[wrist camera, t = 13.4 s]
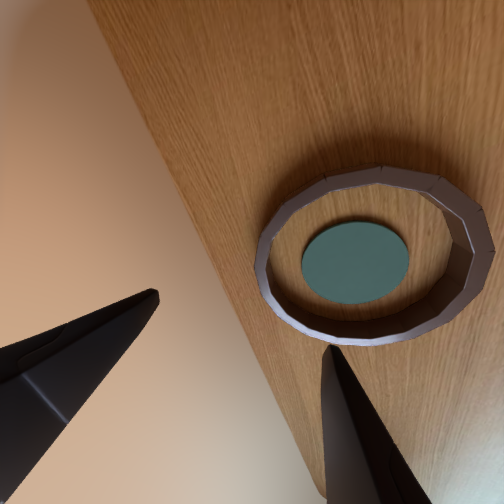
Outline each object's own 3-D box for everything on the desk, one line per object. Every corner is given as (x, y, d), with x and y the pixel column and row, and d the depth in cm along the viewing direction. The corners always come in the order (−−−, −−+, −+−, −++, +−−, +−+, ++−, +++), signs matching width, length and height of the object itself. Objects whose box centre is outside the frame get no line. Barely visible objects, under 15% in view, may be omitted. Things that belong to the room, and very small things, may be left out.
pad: (291, 287, 19) (291, 290, 19) (318, 209, 15) (318, 211, 14) (376, 311, 18) (378, 314, 17) (430, 234, 14) (433, 236, 13)
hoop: (249, 302, 21) (244, 315, 20) (280, 146, 13) (276, 145, 12) (396, 346, 19) (404, 365, 17) (536, 191, 11) (577, 199, 10)
